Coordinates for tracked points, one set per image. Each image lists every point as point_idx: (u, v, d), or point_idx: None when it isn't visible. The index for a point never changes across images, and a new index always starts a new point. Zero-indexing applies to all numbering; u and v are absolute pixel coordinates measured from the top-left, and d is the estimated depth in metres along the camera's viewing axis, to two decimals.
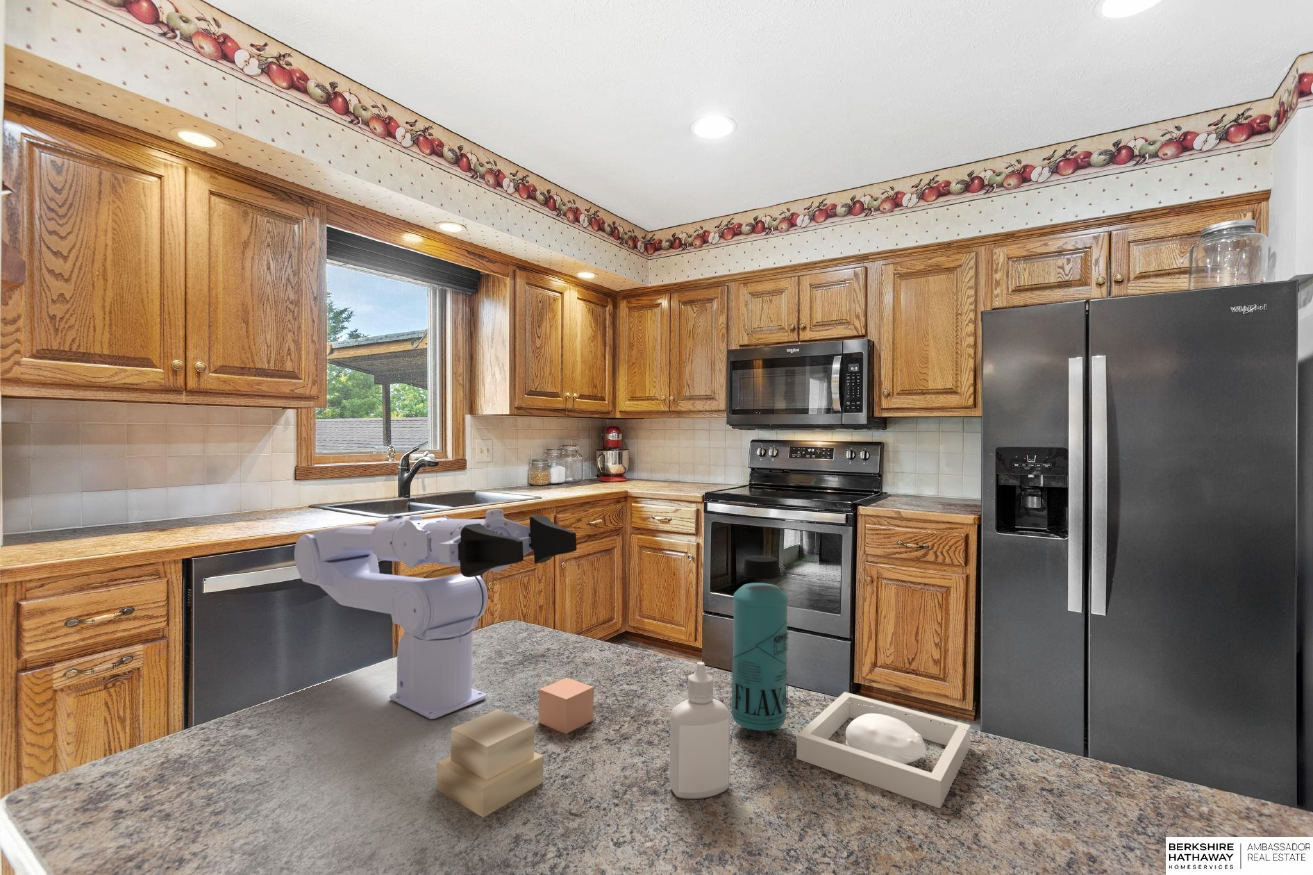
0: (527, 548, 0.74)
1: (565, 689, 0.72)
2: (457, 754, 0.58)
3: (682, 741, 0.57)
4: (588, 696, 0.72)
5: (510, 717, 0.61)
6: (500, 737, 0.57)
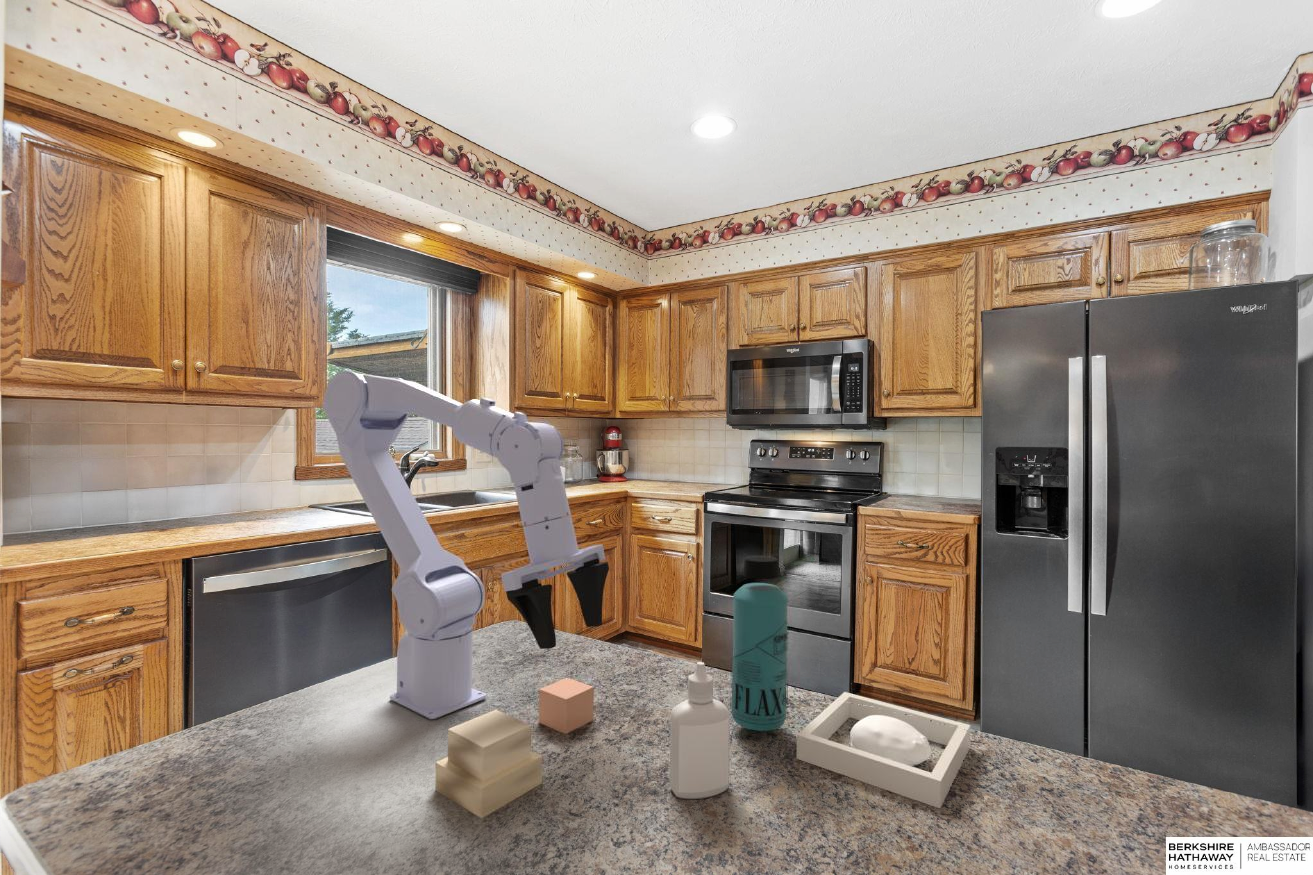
0: None
1: (565, 689, 0.72)
2: (454, 755, 0.57)
3: (682, 741, 0.57)
4: (588, 696, 0.72)
5: (507, 718, 0.60)
6: (496, 738, 0.56)
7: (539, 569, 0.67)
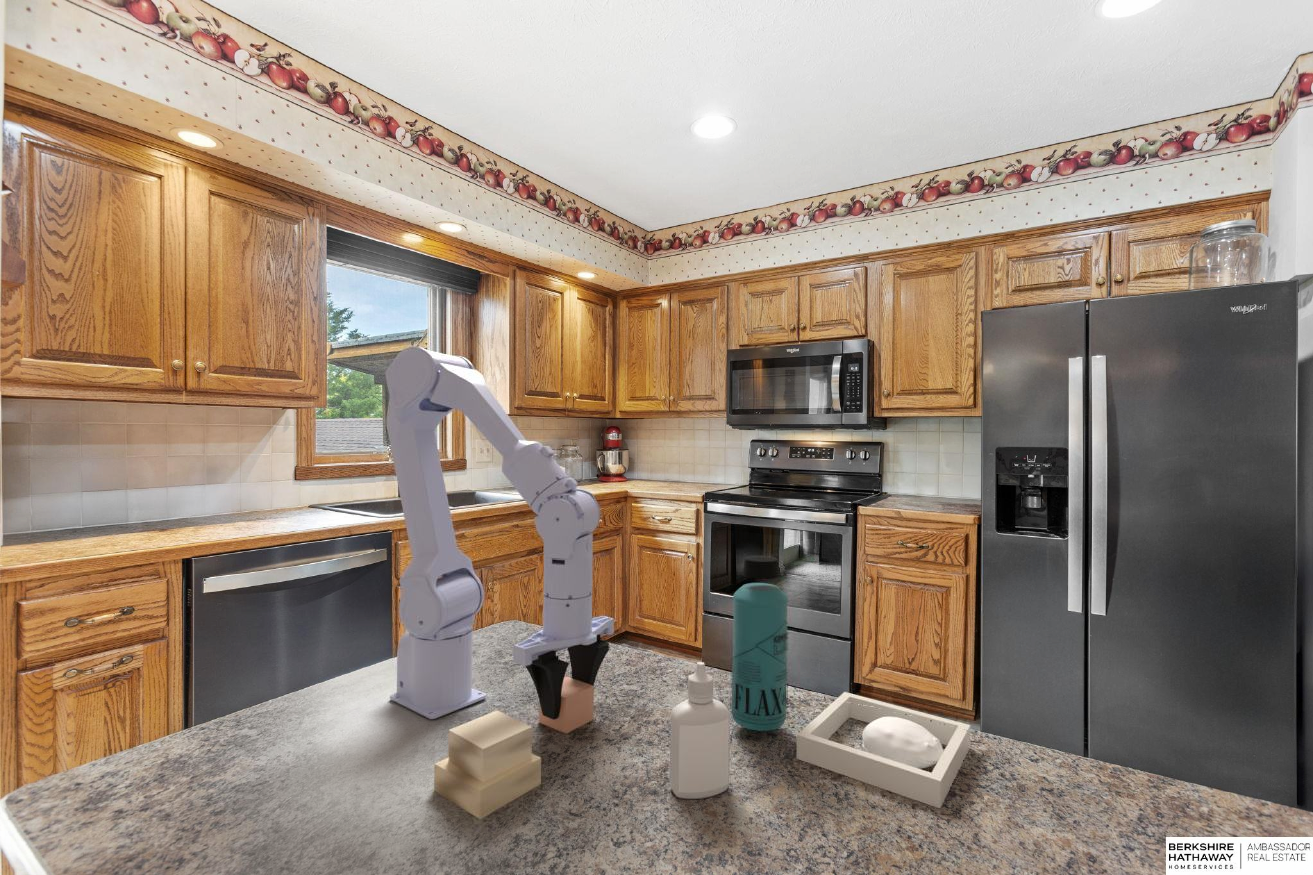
0: None
1: (565, 688, 0.72)
2: (454, 756, 0.57)
3: (682, 741, 0.57)
4: (588, 695, 0.72)
5: (508, 719, 0.60)
6: (496, 739, 0.56)
7: (551, 647, 0.68)
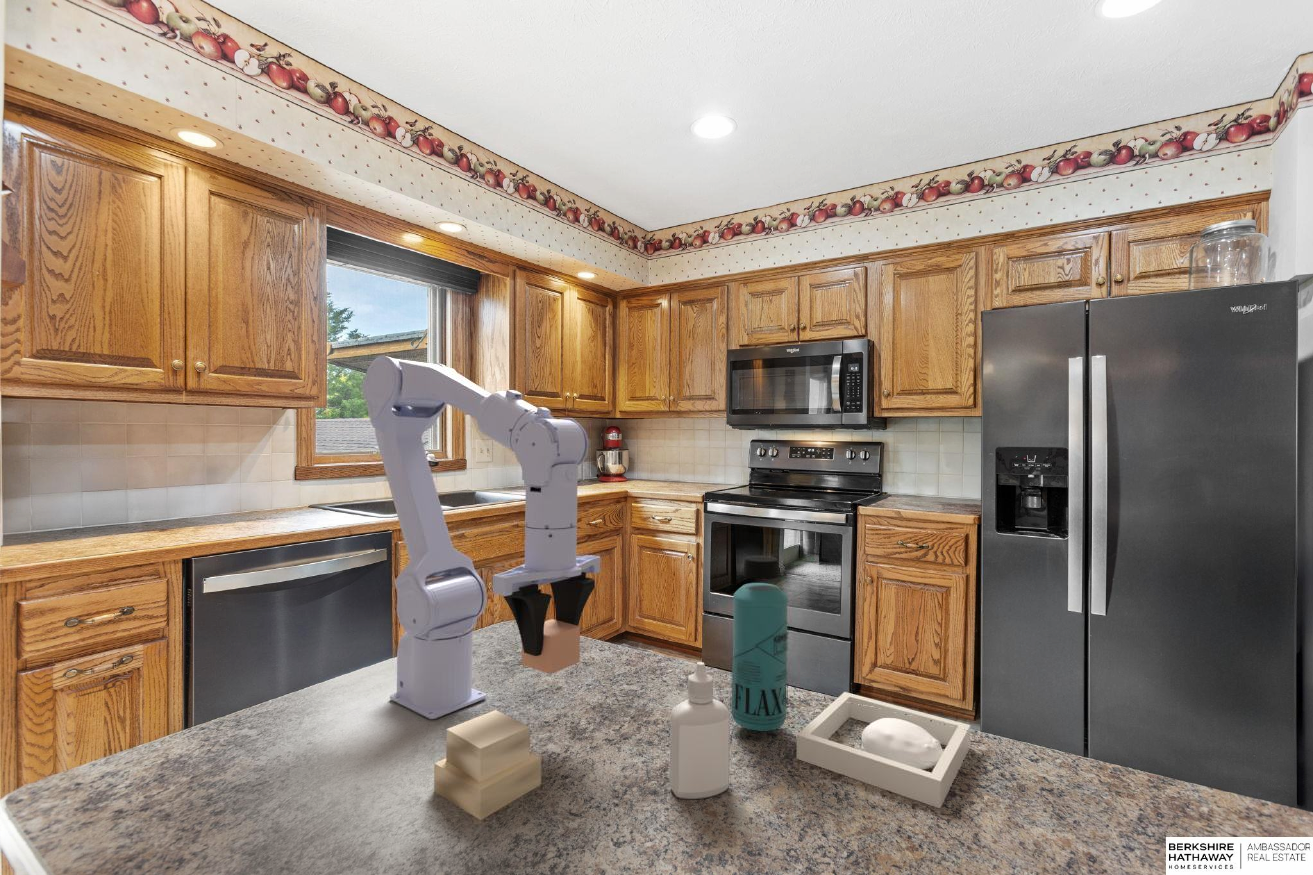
0: None
1: (550, 628, 0.68)
2: (452, 755, 0.57)
3: (682, 741, 0.57)
4: (574, 636, 0.68)
5: (506, 719, 0.60)
6: (494, 739, 0.56)
7: (533, 578, 0.64)
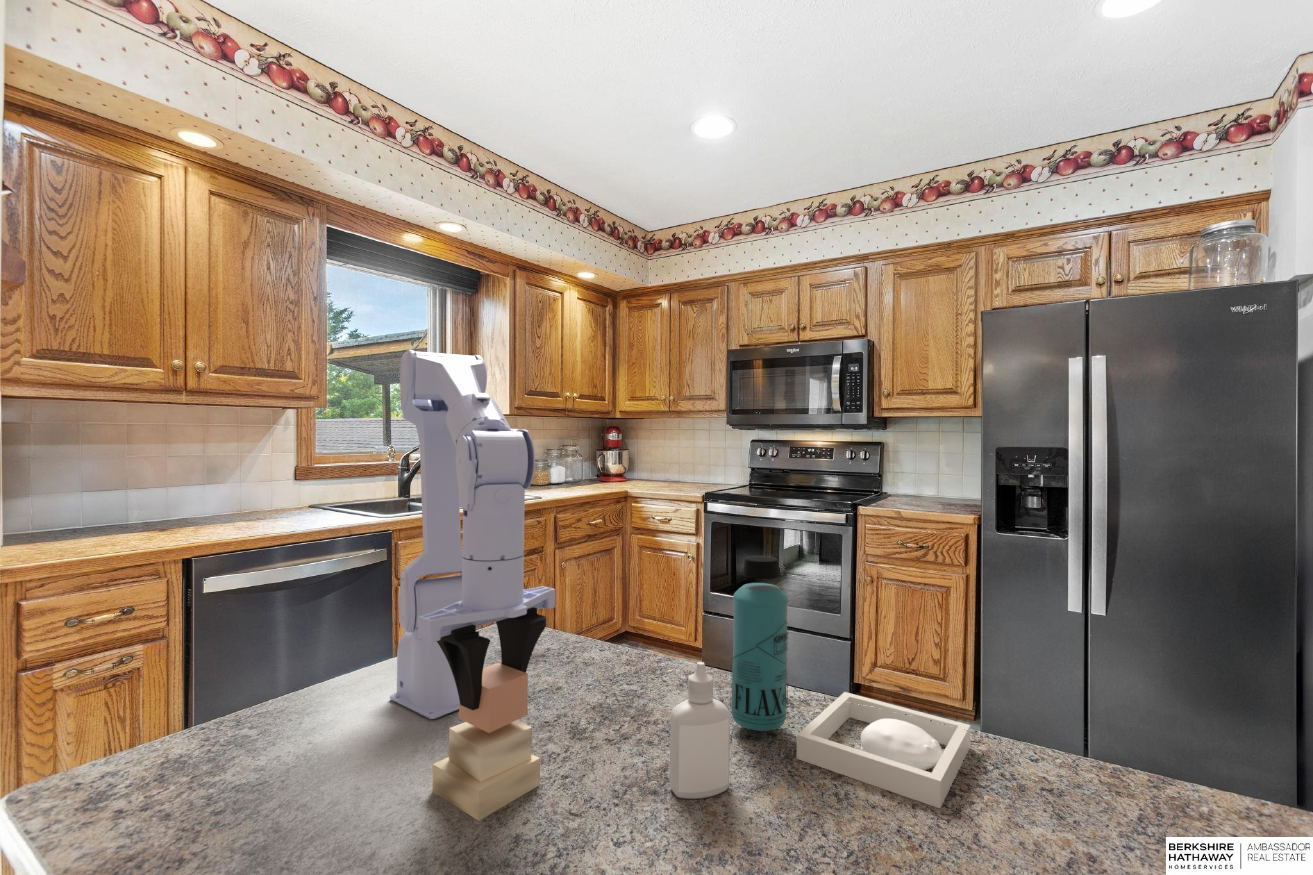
0: None
1: (491, 676, 0.58)
2: (454, 754, 0.57)
3: (682, 741, 0.57)
4: (520, 685, 0.58)
5: None
6: (495, 739, 0.56)
7: (467, 620, 0.54)
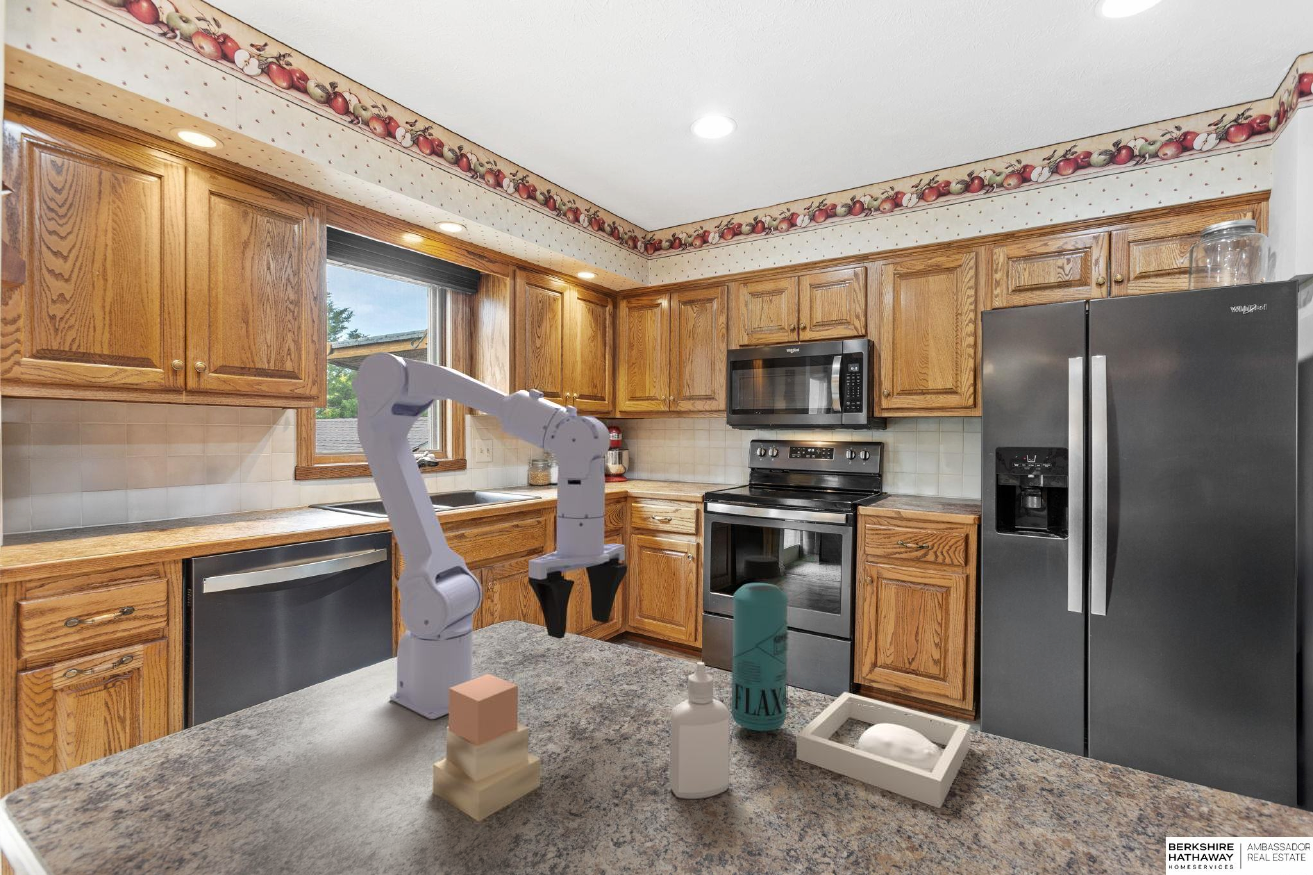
0: None
1: (481, 688, 0.58)
2: (451, 753, 0.58)
3: (682, 741, 0.57)
4: (510, 697, 0.58)
5: None
6: (491, 739, 0.56)
7: (565, 563, 0.69)
